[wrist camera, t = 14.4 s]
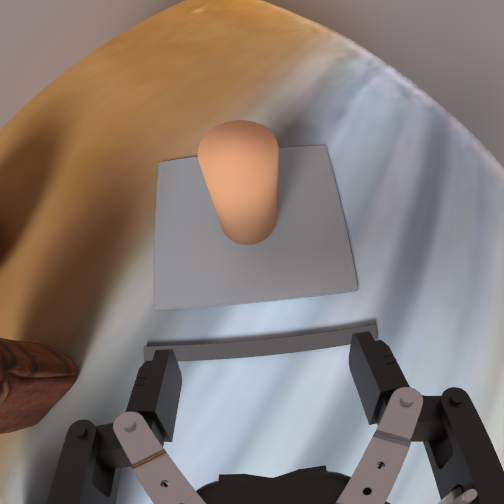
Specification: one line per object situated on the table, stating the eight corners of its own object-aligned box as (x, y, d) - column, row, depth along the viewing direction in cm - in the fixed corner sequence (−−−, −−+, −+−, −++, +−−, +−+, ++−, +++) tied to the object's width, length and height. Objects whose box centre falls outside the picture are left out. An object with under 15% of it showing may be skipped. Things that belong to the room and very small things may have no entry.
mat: (334, 147, 28) (335, 144, 28) (376, 339, 22) (377, 339, 22) (150, 166, 29) (149, 163, 28) (146, 361, 22) (144, 361, 22)
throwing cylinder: (273, 192, 26) (273, 117, 18) (279, 242, 25) (283, 178, 16) (219, 197, 26) (198, 125, 18) (221, 247, 25) (197, 187, 16)
